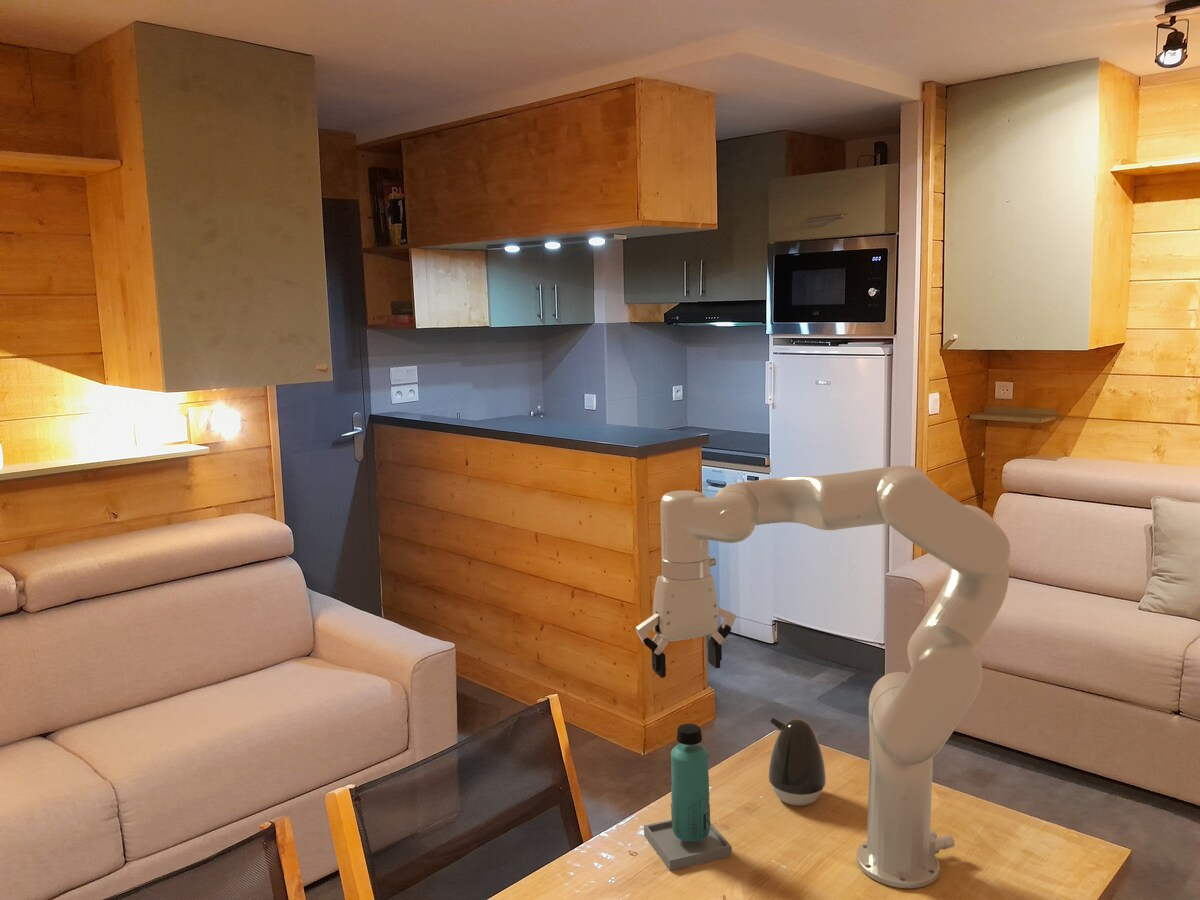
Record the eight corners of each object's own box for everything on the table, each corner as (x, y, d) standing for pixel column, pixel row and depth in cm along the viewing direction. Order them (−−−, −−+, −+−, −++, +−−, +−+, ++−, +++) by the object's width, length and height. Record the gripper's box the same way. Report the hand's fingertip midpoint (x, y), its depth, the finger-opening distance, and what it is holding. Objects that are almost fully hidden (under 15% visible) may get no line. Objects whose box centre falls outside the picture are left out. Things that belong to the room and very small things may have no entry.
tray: (702, 822, 162) (702, 812, 162) (731, 856, 152) (731, 846, 152) (644, 835, 159) (643, 825, 159) (670, 870, 149) (669, 860, 148)
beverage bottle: (708, 852, 152) (708, 737, 148) (668, 848, 153) (666, 734, 150) (712, 830, 158) (711, 720, 155) (673, 827, 159) (672, 717, 156)
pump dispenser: (781, 778, 177) (782, 703, 175) (833, 794, 171) (835, 716, 169) (757, 802, 169) (758, 723, 166) (811, 819, 163) (812, 737, 160)
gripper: (723, 556, 155) (724, 654, 157) (626, 569, 149) (629, 670, 152) (744, 567, 148) (745, 669, 150) (644, 581, 142) (647, 687, 144)
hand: (687, 670), depth 151 cm, fingers open, 9 cm apart
